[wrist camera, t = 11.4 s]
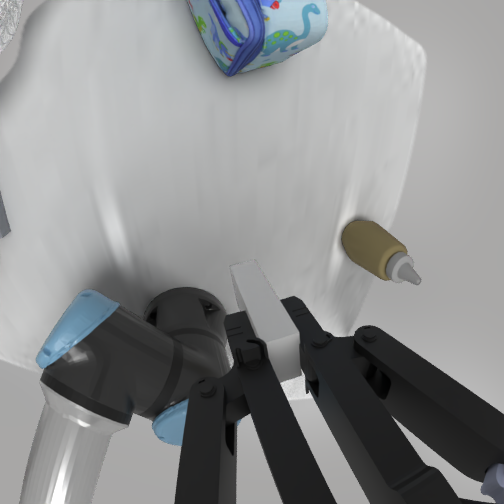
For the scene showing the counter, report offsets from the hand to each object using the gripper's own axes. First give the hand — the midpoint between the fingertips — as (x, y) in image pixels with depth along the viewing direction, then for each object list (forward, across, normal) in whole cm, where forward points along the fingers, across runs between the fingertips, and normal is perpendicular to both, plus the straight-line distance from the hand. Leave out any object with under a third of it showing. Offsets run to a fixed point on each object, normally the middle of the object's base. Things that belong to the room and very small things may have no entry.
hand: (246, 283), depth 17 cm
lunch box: (+28, -7, -28) cm, 40 cm away
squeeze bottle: (+28, -25, +14) cm, 40 cm away
